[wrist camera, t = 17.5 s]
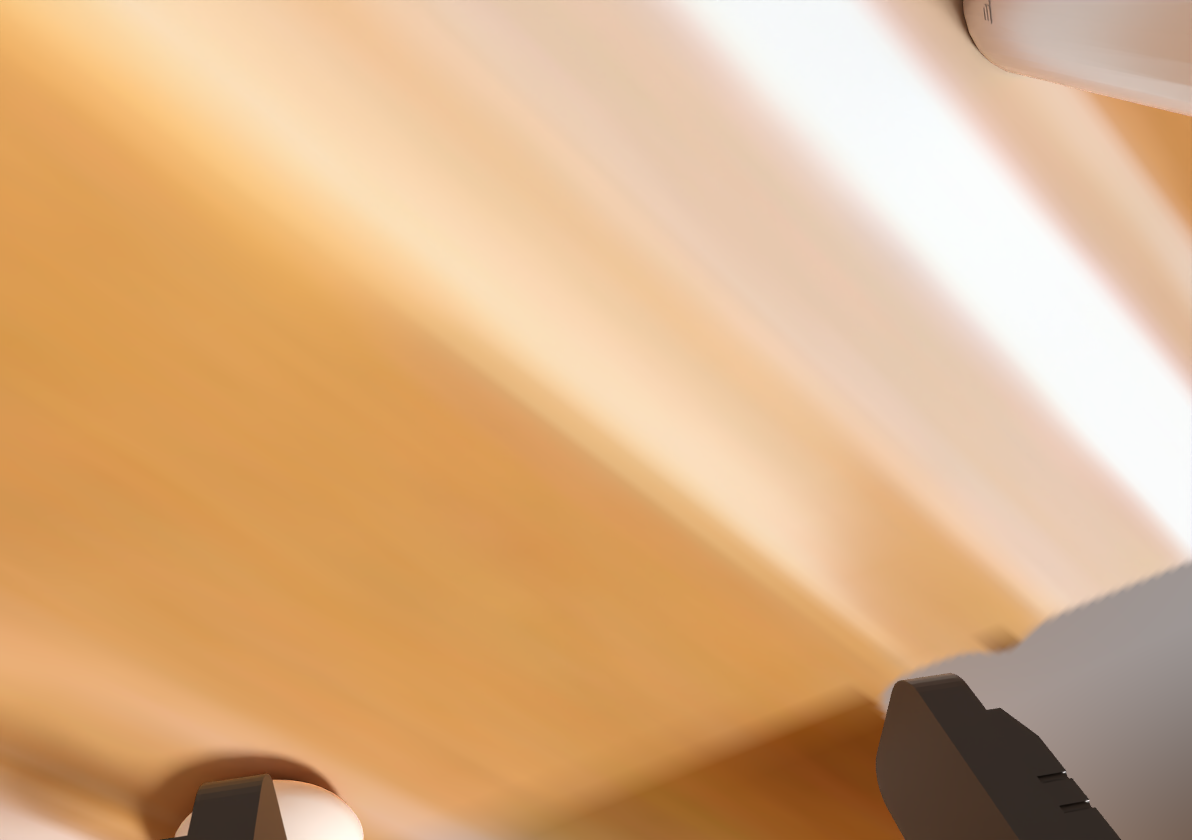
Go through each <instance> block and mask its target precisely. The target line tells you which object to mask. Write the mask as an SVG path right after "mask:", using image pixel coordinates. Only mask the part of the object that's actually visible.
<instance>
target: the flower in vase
mask: <svg viewBox="0 0 1192 840" xmlns="http://www.w3.org/2000/svg"><path fill="white" fill-rule="evenodd" d="M272 781H273V784H274V788H275V792H276V796H277V800H278V804H279V808H280V813H281V817H282V821H283V825H284V829H285V833H286V837H287V840H363V837H364V836H363V829H362V826H361V823H360V821H359V819H358V817H357V816H356V814H355V813H354V812H353V810H352V809H351V808H350V807H349V806H348V805H347V803H346V802H345V801H343V800H342V799H341V798H340V797H339V796H337V795H335V794H334V793H332V792H331V791H328V790H326V789H324V788H322V787H319V786H316V785H313V784H309V783H305V782H300V781H293V780H272ZM191 816H192V813H191V814H189V815H188V816H187V817H186V819H185V820H184V821H183V822H182V823H181V825H180V826H179V828H178V830H177V832H176V834H175V837H181V836H187V834H188V830H189V825H190V821H191Z"/></svg>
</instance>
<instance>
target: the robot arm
mask: <svg viewBox="0 0 1192 840" xmlns="http://www.w3.org/2000/svg"><path fill="white" fill-rule="evenodd" d="M963 8H964V16H965V19H966V23H967V26H968V30H969V33H970V35H971V37H972V39H973V41H974V42H975V44H976V46H977V48H978V49H979V51H980V52H981V53H982V54H983V55H984V56H985V57H986V58H987V59H988V60H989V61H990V62H991V63H993V64H995V65H996V66H998V67H1000V68H1002V69H1003V70H1005V71H1008V72H1012V73H1016V74H1020V75H1024V76H1028V77H1032V78H1036V79H1040V80H1044V81H1048V82H1052V83H1056V84H1060V85H1063V86H1067V87H1071V88H1075V89H1079V90H1083V91H1088V92H1092V93H1096V94H1100V95H1104V96H1108V97H1113V98H1117V99H1121V100H1125V101H1129V102H1133V103H1138V104H1142V105H1146V106H1150V107H1154V108H1158V109H1163V110H1167V111H1171V112H1175V113H1179V114H1183V115H1188V116H1192V0H963ZM876 773H877V780H878V784H879V788H880V791H881V794H882V797H883V799H884V802H885V804H886V806H887V808H888V810H889V812H890V813H891V815H892V817H893V819H894V820H895V822H896V824H897V826H898V828H899V829H900V831H901V833H902V835H903V836H904V838H905V840H1121V839H1120V838H1119V837H1118V835H1117V834H1116V833H1115V831H1114V830H1113V829H1112V828H1111V827H1110V826H1109V824H1108V823H1107V821H1106V820H1105V819H1104V818H1103V816H1102V815H1101V814H1100V813H1099V811H1098V810H1097V809H1096V808H1092V807H1091V806H1090V803H1089V799H1088V798H1087V796H1086V795H1085V794H1084V793H1083V791H1082V790H1081V789H1080V788H1079V786H1078V785H1077V784H1076V783H1075V781H1074V780H1073V779H1072V778H1070V779H1069V778H1068V777H1067V774H1066V770H1065V769H1064V768H1063V767H1062V765H1061V764H1060V762H1059V761H1058V760H1057V759H1056V758H1055V756H1054V755H1053V754H1052V752H1051V751H1050V750H1049V749H1048V747H1047V746H1046V745H1045V744H1044V742H1043V741H1042V740H1041V739H1040V738H1039V736H1038V735H1036V734H1035V733H1034V732H1032V731H1031V730H1030V729H1028V728H1027V727H1025V726H1024V725H1023V724H1021V723H1020V722H1019V721H1017V720H1016V719H1014V718H1013V717H1012V716H1011V715H1009V714H1008V713H1007V712H1005V711H1004V710H1002V709H1001V708H997V709H990V710H986V709H985V707H984V706H983V705H982V703H981V702H980V701H979V700H978V698H977V697H976V696H975V694H974V693H973V692H972V690H971V689H970V688H969V686H968V685H967V684H966V683H965V681H963V679H961V678H960V677H959V676H957V675H955V674H952V673H948V674H941V675H935V676H928V677H922V678H915V679H908V680H901V681H898V682H897V683H896V684H895V686H894V688H893V690H892V694H891V698H890V702H889V706H888V710H887V714H886V718H885V723H884V727H883V731H882V735H881V739H880V743H879V747H878V752H877V756H876ZM162 840H287V837H286V833H285V829H284V825H283V821H282V817H281V813H280V808H279V804H278V800H277V796H276V792H275V788H274V784H273V781H272V778H271V776H270V775H269V774H261V775H254V776H248V777H241V778H235V779H228V780H221V781H215V782H208V783H203V784H202V785H201V786H200V788H199V790H198V792H197V795H196V799H195V803H194V807H193V812H192V816H191V821H190V825H189V830H188V834H187V836H181V837H174V838H168V839H162Z"/></svg>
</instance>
